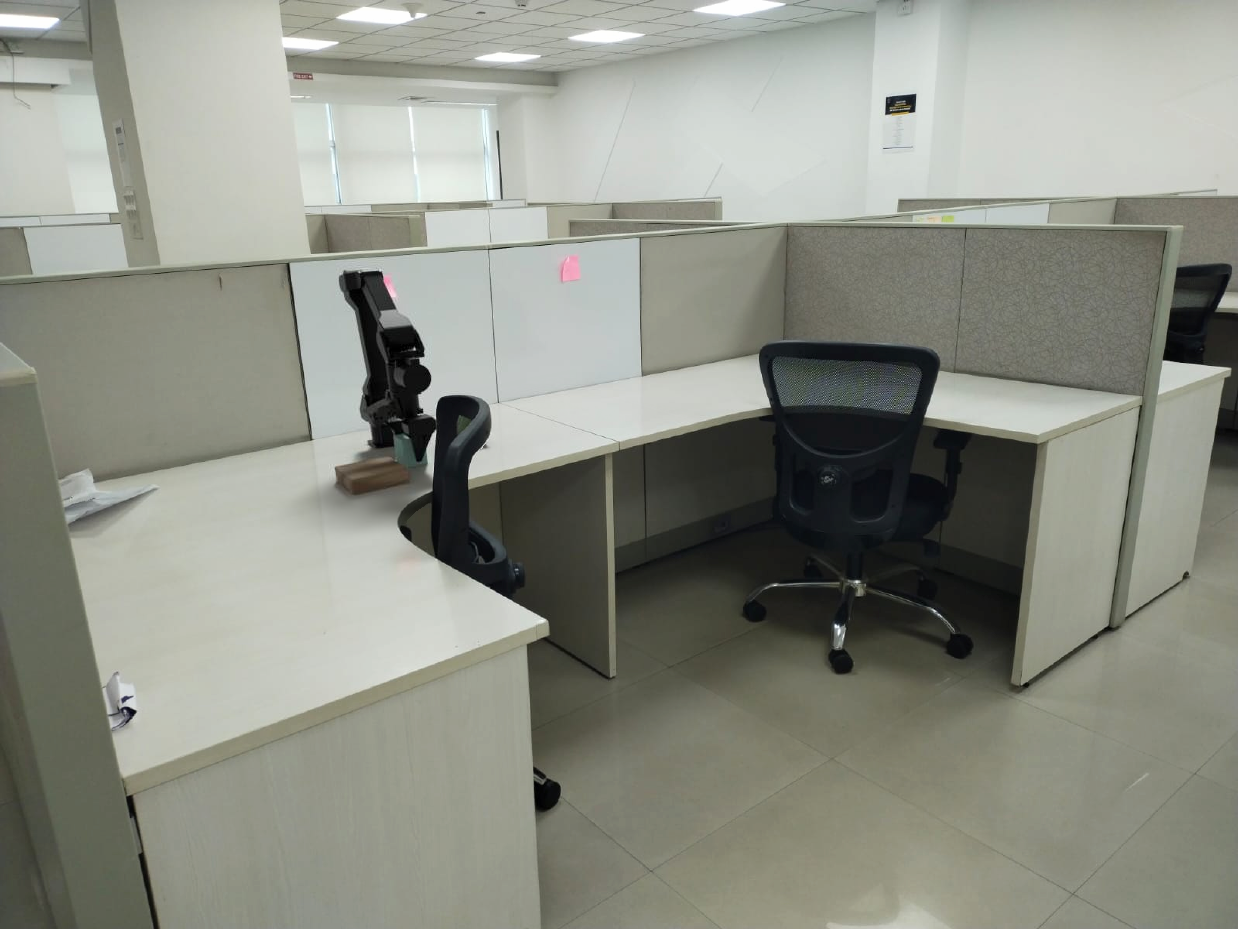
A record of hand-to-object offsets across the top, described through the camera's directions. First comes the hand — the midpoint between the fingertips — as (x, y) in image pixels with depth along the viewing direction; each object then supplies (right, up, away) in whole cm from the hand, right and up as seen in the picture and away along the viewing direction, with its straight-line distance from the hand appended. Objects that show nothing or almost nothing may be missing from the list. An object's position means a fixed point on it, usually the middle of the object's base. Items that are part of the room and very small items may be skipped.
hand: (411, 457), depth 186 cm
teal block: (0, -1, 0) cm, 1 cm away
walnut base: (-5, -5, -11) cm, 13 cm away
